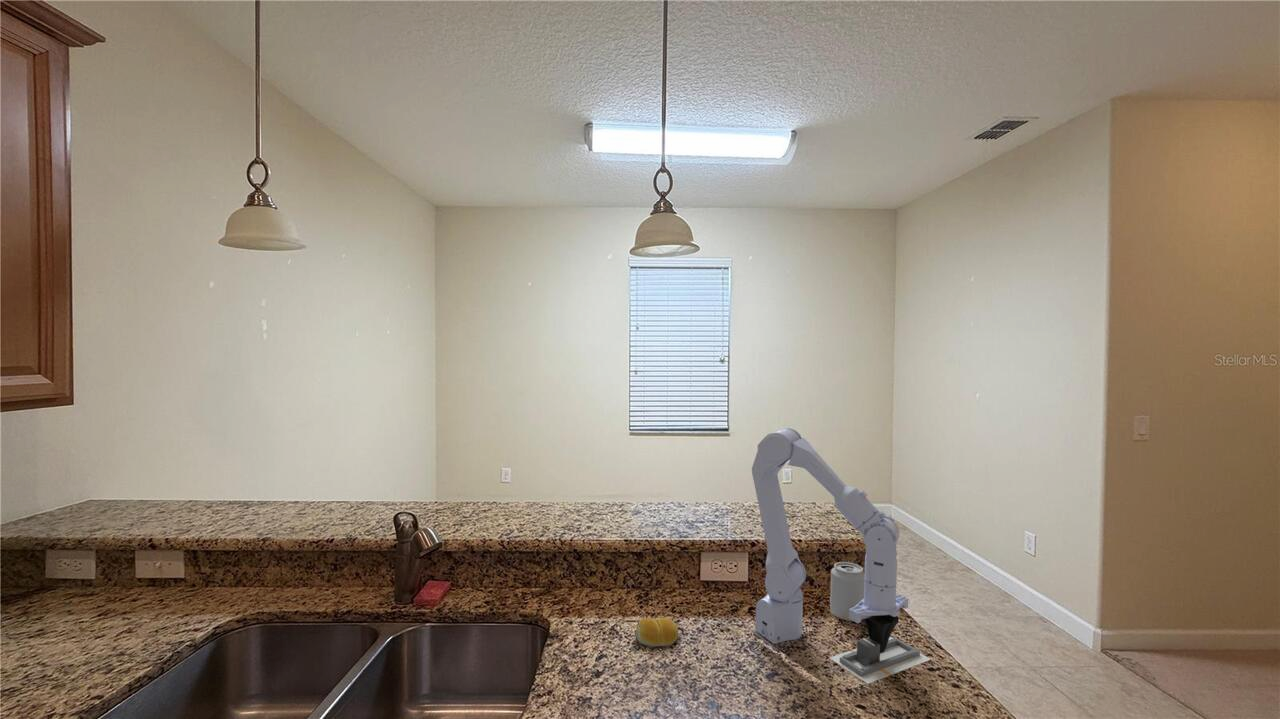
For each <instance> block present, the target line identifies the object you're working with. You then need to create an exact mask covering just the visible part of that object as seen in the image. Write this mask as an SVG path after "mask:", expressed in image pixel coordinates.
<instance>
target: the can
mask: <svg viewBox="0 0 1280 719" xmlns="http://www.w3.org/2000/svg"><path fill="white" fill-rule="evenodd" d="M833 566H834V567H832V569H831V570H830V595H829V596H830V598H829V599H830V600H829V612H830V613H831V615H833V616H834V617H836V618H838V619H840V620H841V619H842V620H845V621H850V622H853V621H852V620H851V619H849V609H850V608H853V607H855V606H856V605H857V604H858V603H859V602H860V601H861V600H863V599H864V576H865V572H864V568H863V567H862V566H860V565H859V564H857V563H853V562H848V561H839V562H835V563H834V564H833Z"/></svg>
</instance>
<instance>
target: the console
mask: <svg viewBox="0 0 1280 719" xmlns="http://www.w3.org/2000/svg"><path fill="white" fill-rule="evenodd" d="M829 659H830V660H832V661H833V662H835V664H837V665H839V666H840V667H842V668H843V669H845V670H846V671H848V672H849V673H850V674H852V675H854V676H855V677H857V678H858V679H860V680H861V681H862V682H864V683H866V684H868V685H869V684H871V683H874V682H877V681H879V680H882V679H885V678H887V677H890V676H891V675H895V674H897V673H899V672H903V671H905V670H908V669H910V668H912V667H915V666H918V665H921V664H923V663H926V662H928V661H931V660H932V658H929V656H926V655H924V654H923V653H921V650H919V649H917V648H915V647H913V646H911V645H910V644H908V643H906V642H904V641H902V640H901V639H899V638H894V637H891V636H890V637H889V640H888V643H887V646H886V649H885V652H883V653H880V661H879V662H877V663H874V664H871V665H868V666H866V667H865V666H864V665H862V664H861V663H859V662H858V661H857V648H853V649H851V650H848V651H845V652H842V653H839V654H836V655H833V656H830V657H829Z"/></svg>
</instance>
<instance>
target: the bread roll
mask: <svg viewBox="0 0 1280 719" xmlns="http://www.w3.org/2000/svg"><path fill="white" fill-rule="evenodd" d="M635 637H636V639H637V642H638V643H639V644H641V645H643V646H646V647H651V648H652V647H660V646H661V647H669V646H671V645H674V643H675V642H676V641H677V640H678V639H679V638H678V637H679V628H678V625H677V624H676V623H675V622H674V621H673V619H670V618H667V617H656V618H652V617H651V618H650V617H644V618H641V619H640V620H639V621H638V623H637V625H636V630H635Z"/></svg>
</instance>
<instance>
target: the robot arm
mask: <svg viewBox="0 0 1280 719" xmlns="http://www.w3.org/2000/svg"><path fill="white" fill-rule="evenodd" d="M787 462H788V463H787ZM786 463H787V465H788V466H791V467H797V468H802V469H805V470H806V471H807V473H809V474H810V475H811V476H812V477H813V478H814V479H815V480H816V481H817V482H818V483H819V484H821V486H822V487H823V488H825V490H826V491H828V492H829V493H830V495H831V496H832V497H833V498H834V506H835V508H836V509H837V511H839V512H840V513H841V515H843V517H844V518H845V519H846V520H847V521H848V523H850V524H851V526H853V528H855V529H856V530H857V532H859V533H861V535H862V536H861V537H862V541H863V544H864V546H865V547H866V548H865V556H864V574H865V576H864V599H863V600H861V601H860V602H859V603H858V604H857V605H856V606H855V607H853V608H850V609H849V619H851V620H852V621H851V622H855V623H856V624H859V623H861V622H862V621H863V624H864V626H865V628H866V631H867V633H868V637H869V638H870V639H872V640H874V641H876V642H877V643H879V644H880V653H883V652H885V649H886V646H887V643H888V640H889V637H891V635H892V632H893V631H894V630H895V627H896V626H897V625H898V624H899V619H900V618H899V616H900V615H901V610H899V609H905V610H906V609H908V608H909V598H908V597H906V596H904V595H902V594H897V581H898V580H897V579H898V578H897V575H898V559H897V556H898V552H897V543H898V540H899V537H900V529H899V526H898V524H897V523H896V522H895V520H894V519H893V518H892V517H890V516H888V515H887V514H886V513H885V512H884V511H880V510H879V509H878V508H877V507H876V506H875V505H874V504H873V503H872V502H871V501H870V500H869V499H868V497H867V496H868V494H867V492H865V490H863V489H862V490H859V489H858V488H857V487H856V486H848V485H846V484H845V483H844V481H843V480H842V479H841V478H840V477H839V476H838V474H836V472H834V470H833V469H832V468H831V467H830V466H829V465H828V464H827V462H826V461H825V460H824V459H823V458H822V457H821V455H819V453H818V452H817V451H816V450H815V449H814V447H813V446H812V445H811V443H810V442H809V441H808V440H807V439H806V438H804V437H802V435H801V433H799V432H798V431H797V430H795V429H793V428H789V427H785V428H781V429H780V430H778V431H776V432H770V433H768V434H767V435H766V436H764V437H763V439H761V441H760V442H759V443H758V445H757V452H756V454H755V457H754V461H753V463H752V467H751V474H752V480H753V484H754V488H755V495H756V499H757V505H758V509H759V513H760V518H761V523H762V527H763V533H764V537H765V538H764V539H765V544H766V548H767V549H766V550H767V556H766V560H765V572H766V573H765V574H766V575H765V578H764V586H765V590H766V592H767V593H766V595H765V596H764V597H763V598H761V599H759V600H758V601H757V603H756V605H755V623H754V624H755V627H754V629H755V631H754V630H752V634H753V635H755V636H757V637H758V638H759V639H760V640H762V641H763V642H765V643H766V644H767V645H769V647H771V648H773V649H774V650H775V651H780V648H778V647H776V646H775V644H779V643H782V642H786V641H795V640H798V639H800V638H801V637H802V634H803V607H804V606H803V602H804V595H803V591H802V588H801V586H802V585H803V584H804V583H805V581H806V580H807V579H806V578H807V571H806V568H805V566H804V565H803V564H802V562H801V560H800V558H799V554H798V551H797V550H796V549H795V548H794V547H793V545H792V544H793V543H792V539H791V535H790V529H789V524H788V520H787V514H786V510H785V504H784V501H783V494H782V491H781V486H780V481H779V475H778V474H779V473H780V471H781V470H782V469H783V468H784V466H785V465H786Z"/></svg>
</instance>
